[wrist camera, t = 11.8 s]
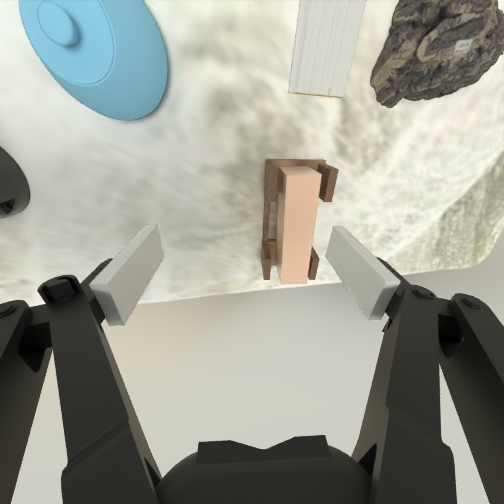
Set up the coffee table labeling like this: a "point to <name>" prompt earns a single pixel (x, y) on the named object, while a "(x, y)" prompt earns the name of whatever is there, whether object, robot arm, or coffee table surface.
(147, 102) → the sugar bowl
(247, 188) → the coffee table surface
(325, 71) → the baseboard
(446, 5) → the dark grey rock
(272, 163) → the rack
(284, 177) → the peach rectangular block
